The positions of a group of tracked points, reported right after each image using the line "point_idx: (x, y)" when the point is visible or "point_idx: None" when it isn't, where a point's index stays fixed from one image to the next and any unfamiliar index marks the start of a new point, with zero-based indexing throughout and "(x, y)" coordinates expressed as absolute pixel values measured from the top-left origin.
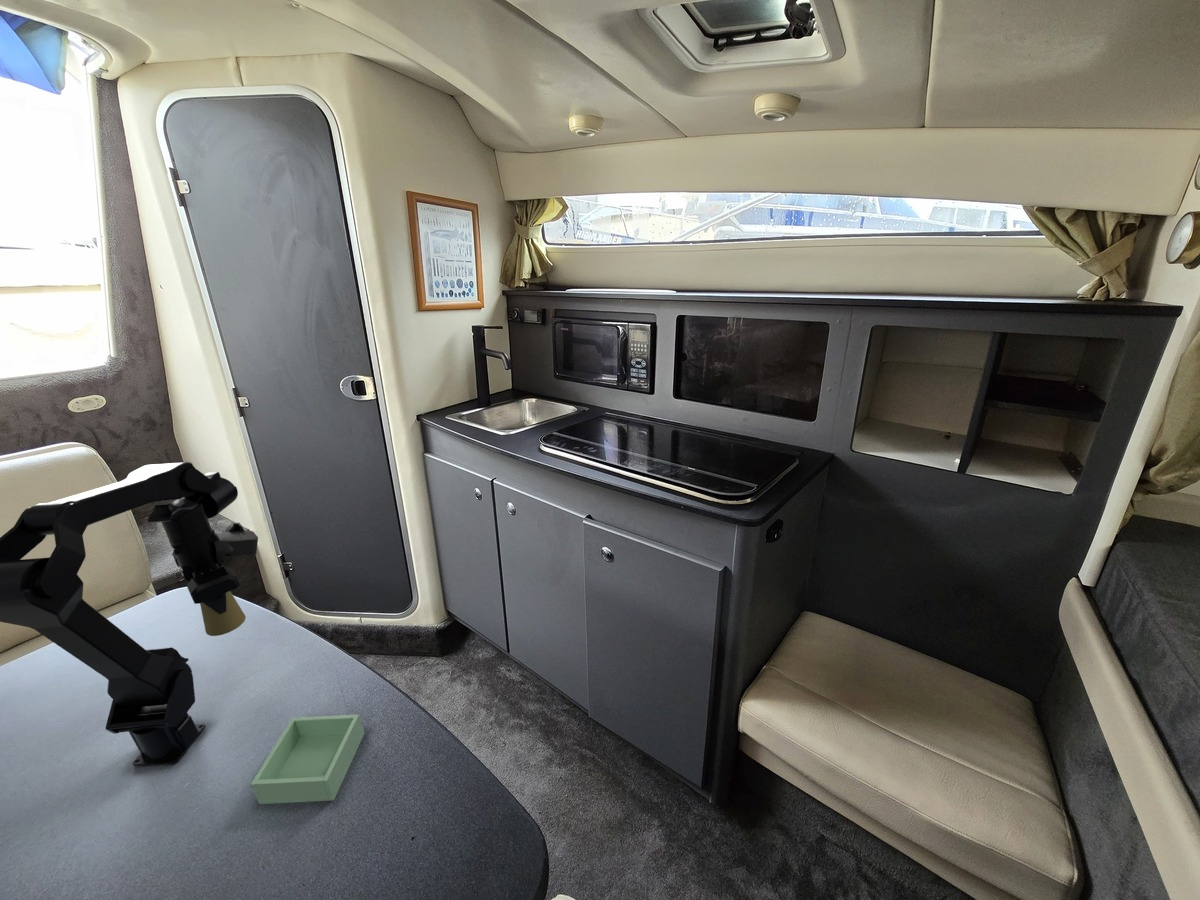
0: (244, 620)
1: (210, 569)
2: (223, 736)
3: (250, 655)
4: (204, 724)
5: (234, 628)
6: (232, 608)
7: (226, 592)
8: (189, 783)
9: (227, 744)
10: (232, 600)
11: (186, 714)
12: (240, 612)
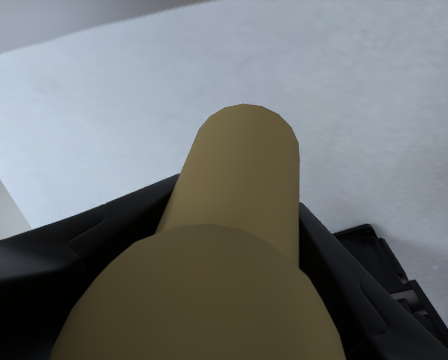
0: (283, 120)
1: (11, 355)
2: (418, 221)
3: (273, 107)
4: (370, 226)
5: (299, 160)
6: (295, 175)
7: (289, 231)
8: (437, 266)
9: (441, 225)
10: (283, 177)
11: (398, 276)
12: (280, 133)
